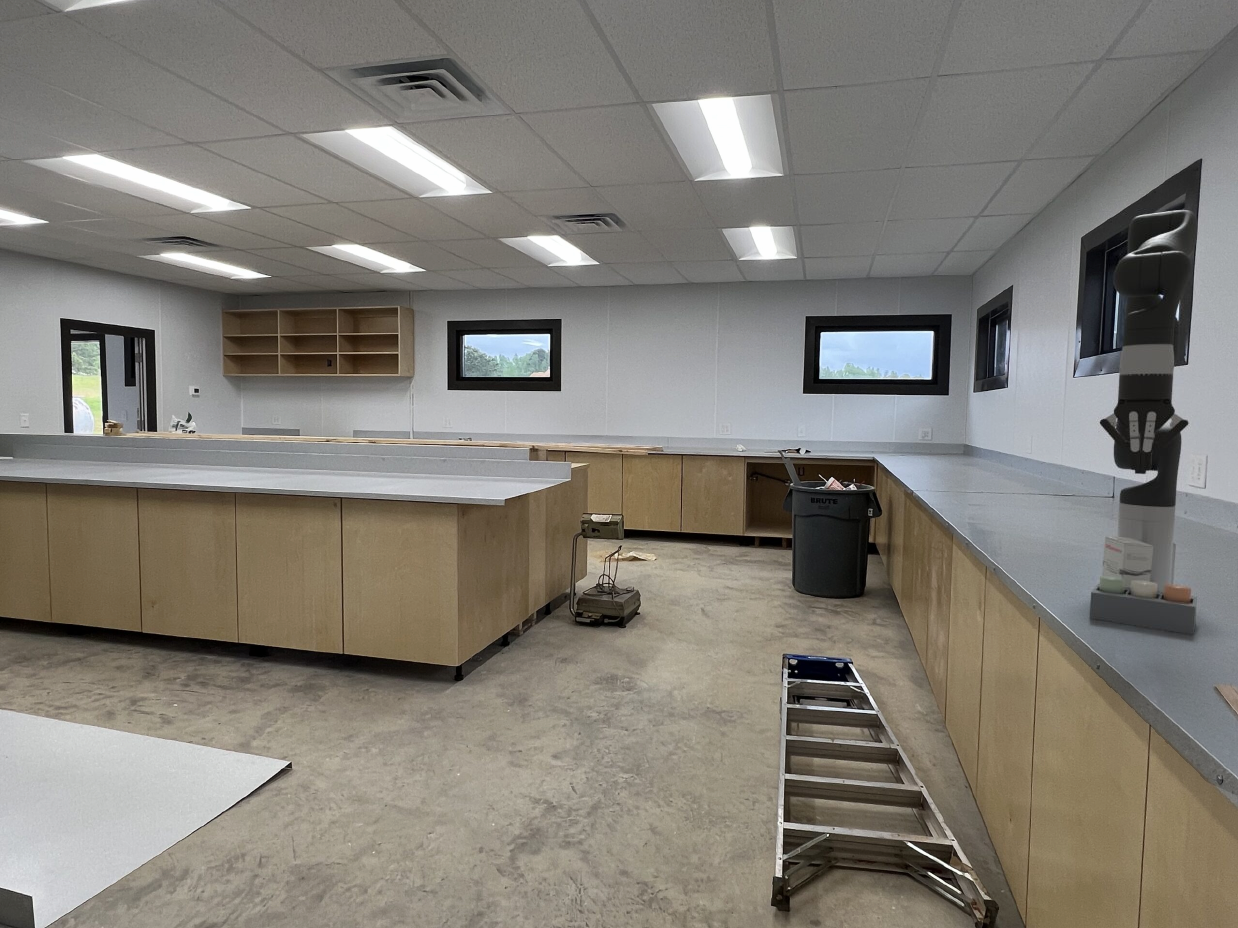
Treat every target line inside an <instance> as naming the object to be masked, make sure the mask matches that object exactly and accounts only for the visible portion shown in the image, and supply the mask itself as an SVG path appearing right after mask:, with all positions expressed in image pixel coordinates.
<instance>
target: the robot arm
mask: <svg viewBox="0 0 1238 928" xmlns="http://www.w3.org/2000/svg"><path fill="white" fill-rule="evenodd" d="M1198 228H1199V227H1198V219H1197V216H1196V214H1195V213H1194V212H1193V211H1191V210H1186V209H1182V210H1181V209H1179V210H1170V211H1169V210H1168V211H1163V212H1156V213H1148V214H1147V213H1145V214H1142V215H1138V216H1135V217H1134V218H1132V219H1131V222H1130V225H1129V227H1128V234H1127V254H1126V255H1125V256H1123V257H1122V258H1121V259H1120V260H1119V262H1118V264H1117V265H1116V266H1115V269H1114V272H1113V276H1112V278H1113V279H1112V281H1113V287H1114V289H1115V291H1116V292H1117V293H1118V294H1119V295H1121V296H1122V297H1126V307H1125V317H1124V321H1123V333H1122V336H1123V337H1122V349H1121V355H1120V359H1119V367H1118V374H1119V375H1118V392H1117V393H1118V394H1117V404H1116V406H1115V407H1114V409H1113V413H1112V414H1110V415H1109V416H1106V417H1105V418H1102V419H1100V421H1099V425H1100V426H1101V427H1102V428H1103V429H1104V430H1105V432H1106V433H1107V434H1108V435H1109V437H1111V439H1112V440H1113V441H1114V442H1113V459H1114V460H1113V461H1114V463H1115V465H1116V467H1117V468H1119V469H1121V470H1131V471H1134V474H1138V475H1145V474H1147V471H1148V472H1149V471H1150V472H1154V471H1155V472H1157V475H1156V476H1155V477H1154V478H1153V479H1151V480H1149V481H1146V482H1144V483H1142V484H1138V485H1133V486H1127V487H1124V488H1122V489H1121V490H1120V493H1119V500H1118V501H1119V502H1118V503H1119V504H1118V507H1119V508H1118V518H1117V519H1118V520H1117V522H1118V523H1117V524H1118V525H1117V536H1116V537H1124V538H1132V539H1135V540H1137V541H1140V542H1143V543H1146V544H1149V545H1152V546H1153V556H1152V566H1151V576H1150V582H1154V583H1157V591H1158V592H1164V585H1167V584H1171V585H1174V581H1175V564H1176V550H1177V545H1176V543H1175V542H1174V534H1175V520H1176V518H1175V517H1176V504H1177V484H1178V475H1179V474H1178V473H1179V466H1180V458H1181V454H1182V453H1181V451H1182V433H1181V432H1182V431H1183V430H1184V429H1186V428H1187V427H1188V426H1189V423H1190V422H1189V420H1187V419H1185V418H1184V419H1183V418H1182V417H1181V416H1179V415H1178V414H1176V413H1175V412H1176V410H1175V408H1174V406H1173V403H1172V401H1173V383H1174V371H1175V364H1176V362H1177V360H1178V357H1179V348H1180V336H1181V335H1180V334H1181V333H1180V332H1181V325H1180V322H1179V320H1178V318H1177V312H1178V308H1179V304H1180V302H1181V300H1182V296H1183V294H1184V292H1185V289H1186V287H1187V285H1188V283H1189V280H1190V278H1191V277H1190V276H1191V274H1192V266H1193V265H1192V261H1191V259H1190V255H1191V254H1192V253H1193V252H1194V249H1195V248H1196V244H1197V240H1198ZM1169 420H1171V421H1170V423H1169V424H1166V423H1167V422H1168V421H1169Z"/></svg>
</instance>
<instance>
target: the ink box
mask: <svg viewBox="0 0 1238 928" xmlns="http://www.w3.org/2000/svg"><path fill="white" fill-rule="evenodd" d="M1103 546H1104V548H1103V555H1102V556H1103V557H1102V570H1101V577H1102V576H1109V577H1117V578H1122V579H1125V587H1127V588H1131V581H1133V580H1141V581H1149V582H1150V576H1151V566H1152V556H1153V546H1152V545H1149V544H1146V543H1143V542H1140V541H1137V540H1135V539H1132V538H1124V537H1117V536H1110V535H1109V536H1105V537H1104V545H1103Z"/></svg>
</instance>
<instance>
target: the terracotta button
mask: <svg viewBox="0 0 1238 928" xmlns="http://www.w3.org/2000/svg"><path fill="white" fill-rule="evenodd" d="M1191 596H1192V588H1191V587H1189V586H1186V585H1181V584H1180V585H1179V584H1173V585H1171V584H1167V585H1164V594H1163V600H1170V601H1177V602H1185V603H1190V602H1191Z"/></svg>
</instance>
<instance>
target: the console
mask: <svg viewBox="0 0 1238 928" xmlns="http://www.w3.org/2000/svg"><path fill="white" fill-rule="evenodd" d="M1099 585H1100V583H1098V584H1096V586H1094V588H1093V589H1092V591H1091V592H1090V607H1089V608H1090V609H1089V619H1091V620H1098V621H1106V622H1110V621H1111V623H1117V624H1123V625H1131V626H1135V627H1136V626H1137V627H1142V628H1149V629H1156V630H1162V631H1168V632H1175V633H1181V634H1187V635H1194V632H1195V627H1196V621H1197V620H1196V618H1197V617H1196V616H1197V603H1198V601H1197V600H1198V597H1197V596H1195V595H1191V602H1190V603H1185V602H1177V601H1170V600H1163V594H1164V592H1158V591H1157V598H1148V597H1141V596H1134V595H1130V594H1131V588H1127V587H1125V588H1124V594H1119V593H1112V592H1105V591H1099Z"/></svg>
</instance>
